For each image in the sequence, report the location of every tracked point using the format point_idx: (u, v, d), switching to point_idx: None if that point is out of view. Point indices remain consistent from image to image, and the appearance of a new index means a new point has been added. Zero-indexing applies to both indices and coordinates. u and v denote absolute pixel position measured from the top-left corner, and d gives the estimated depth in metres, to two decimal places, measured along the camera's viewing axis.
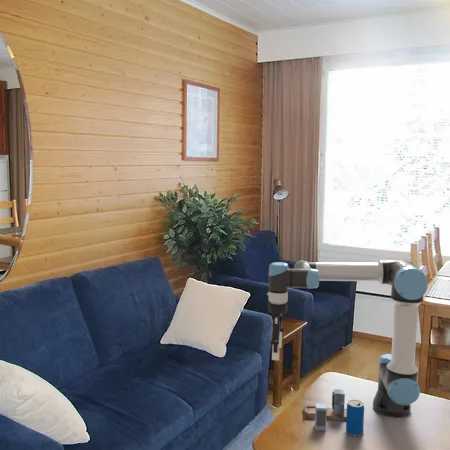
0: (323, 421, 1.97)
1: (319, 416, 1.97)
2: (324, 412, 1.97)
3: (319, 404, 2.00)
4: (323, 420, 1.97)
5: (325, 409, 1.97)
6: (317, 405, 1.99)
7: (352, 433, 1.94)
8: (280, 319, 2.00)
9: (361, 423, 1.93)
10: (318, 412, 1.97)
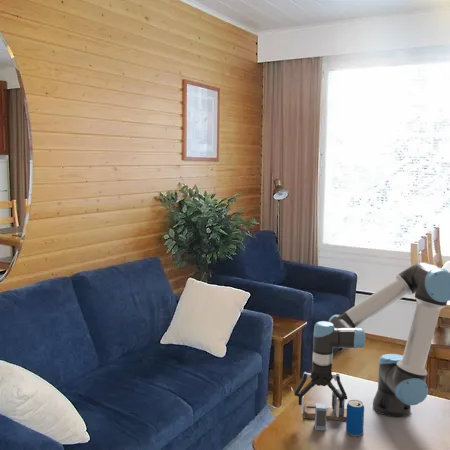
0: (323, 421, 1.97)
1: (319, 416, 1.97)
2: (324, 412, 1.97)
3: (319, 404, 2.00)
4: (323, 420, 1.97)
5: (325, 409, 1.97)
6: (317, 405, 1.99)
7: (352, 433, 1.94)
8: (316, 379, 1.97)
9: (361, 423, 1.93)
10: (318, 412, 1.97)
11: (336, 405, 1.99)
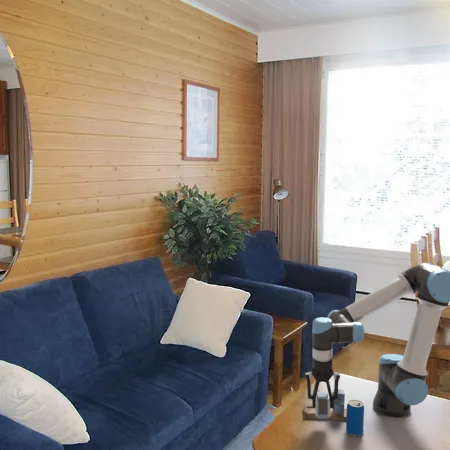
0: (325, 409, 1.97)
1: (321, 405, 1.97)
2: (326, 400, 1.96)
3: (320, 393, 2.00)
4: (325, 408, 1.97)
5: (327, 397, 1.97)
6: (319, 394, 1.99)
7: (352, 433, 1.94)
8: (317, 376, 1.96)
9: (361, 423, 1.93)
10: (320, 401, 1.96)
11: None
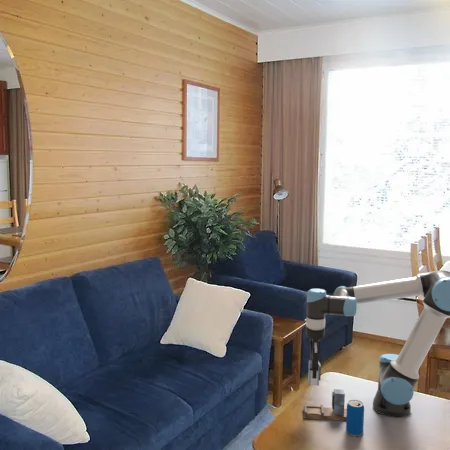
0: None
1: (320, 370, 2.07)
2: None
3: None
4: None
5: None
6: None
7: (352, 433, 1.94)
8: (318, 345, 2.04)
9: (361, 423, 1.93)
10: (320, 367, 2.06)
11: None
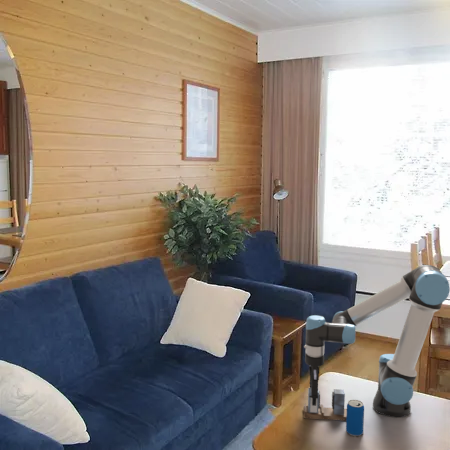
0: None
1: (319, 398, 2.08)
2: (319, 392, 2.10)
3: None
4: None
5: None
6: None
7: (352, 433, 1.94)
8: None
9: (361, 423, 1.93)
10: None
11: None
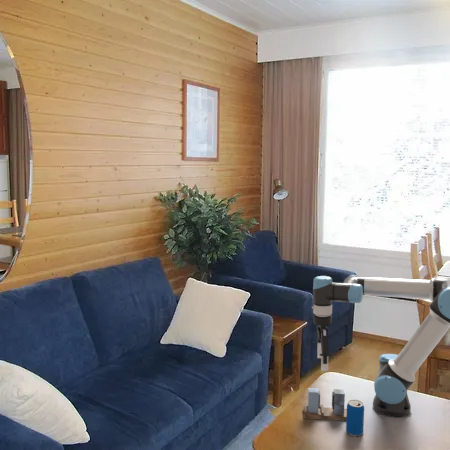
0: None
1: (319, 398, 2.08)
2: (319, 392, 2.10)
3: (311, 390, 2.09)
4: None
5: None
6: (313, 391, 2.08)
7: (352, 433, 1.94)
8: (326, 331, 2.07)
9: (361, 423, 1.93)
10: None
11: (318, 350, 2.17)
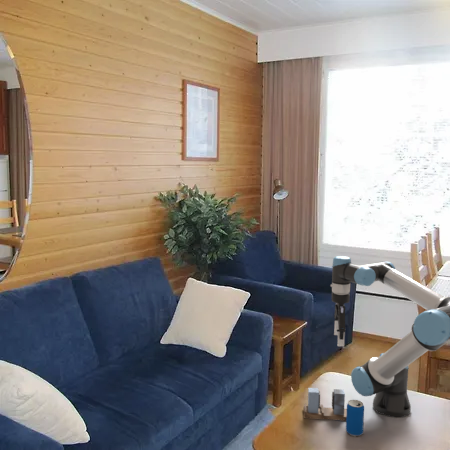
0: None
1: (319, 398, 2.08)
2: (319, 392, 2.10)
3: (311, 390, 2.09)
4: None
5: None
6: (313, 391, 2.08)
7: (352, 433, 1.94)
8: None
9: (361, 423, 1.93)
10: None
11: (335, 327, 2.26)
